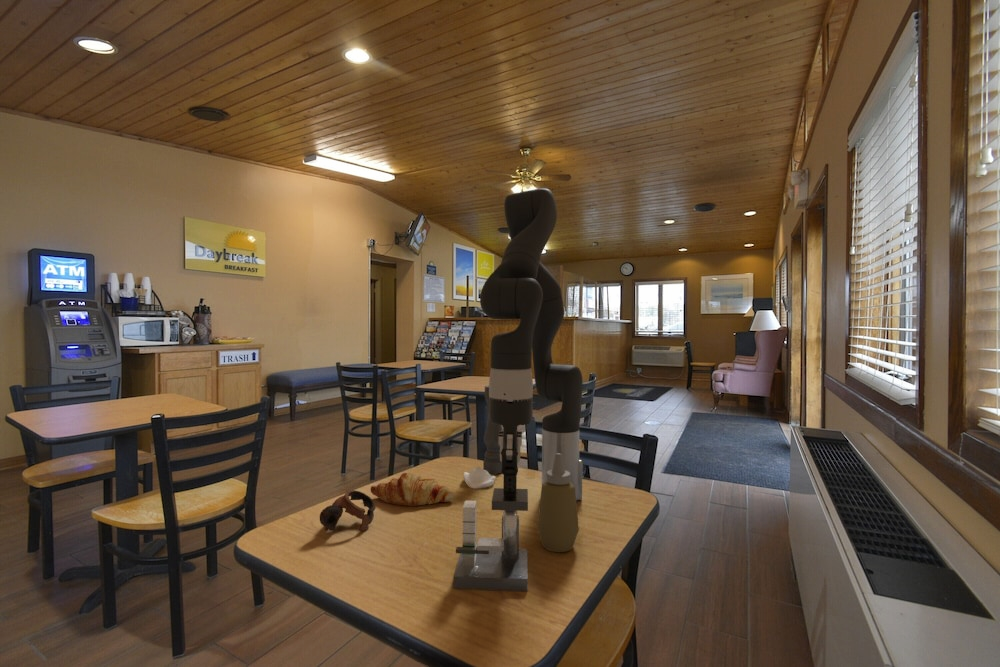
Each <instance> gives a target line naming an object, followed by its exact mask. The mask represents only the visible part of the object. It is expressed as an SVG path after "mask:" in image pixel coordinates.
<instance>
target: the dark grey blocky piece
mask: <svg viewBox="0 0 1000 667" xmlns="http://www.w3.org/2000/svg"><path fill="white" fill-rule="evenodd" d="M528 491H529V490H528V488H516V495H515V496H505V495H504V494H503V488H500V487H498V488H497V487H495V488H493V492H492V498H491V510H492V511H502V515H503V538H502V537H500V538H499V537H478V540H477V543H476V547H477V550H481V551H503V553H504V554H505V555H507V556H513V555H516V554H517V516H518V511H522V512H525V511H526V512H528V511H529V496H528V495H529V493H528Z"/></svg>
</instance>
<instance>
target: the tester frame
mask: <svg viewBox="0 0 1000 667" xmlns="http://www.w3.org/2000/svg"><path fill="white" fill-rule="evenodd" d="M501 538H503V514H502V515H501ZM461 547H477V500H465V501H464V503H463V506H462V545H461ZM457 560H458V561H457V564H456V567H455V571H454V575H453V589H456V590H458V589H459V590H477V591H478V590H479V591H481V590H485V591H508V592H509V591H515V592H528V590H529V589H528V582H529V581H528V578H529V577H528V576H529V575H528V549H527V548H520V516H519V515H517V554H516V555H513V556H507V555H505V554H504V553H503V551H489V554H464V553H459V557H458V559H457Z"/></svg>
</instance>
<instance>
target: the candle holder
mask: <svg viewBox="0 0 1000 667" xmlns="http://www.w3.org/2000/svg"><path fill="white" fill-rule="evenodd" d="M484 398H485V401H486V404H487V405H485V408H484V409H485V410H486V411H487V423H486V427H485V431H484V435H483V443H484V445H485V446H486V449H487V450H486V451H485V453H484V458H483V459H482V460H483V468H482V469H484V470H486V471H487V472H488V473H489V474H490V475H498V473H500V474H502V462H501V461H500V445H499V432H500V431H503V426H502V425H500V424H499V425H497V424H493V423H491V422H490V421H489V384H488V385H484Z"/></svg>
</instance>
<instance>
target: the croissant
mask: <svg viewBox="0 0 1000 667" xmlns="http://www.w3.org/2000/svg"><path fill="white" fill-rule="evenodd" d="M370 493H371V494H372V496H373V495H374V496H375V497H377V498H379V499H380V500H381V501H382V502H385V503H387V504H393V505H396V506H409V507H416V506H417V507H418V506H425V505H432V504H437V503H447V502H450V501H452V500H454V499H455V493H454V492H453V491H451V489H450V488H449V487H448V486H446V485H441V484H439V483H438V482H437V481H436V479H434V478H427V479H426V478H423V477H422V476H421V475H419V474H417V473H412V472H408V473H407V472H403V473H401V475H400V477H398V478H395V477H394V478H391V479H390V480H389V481H388V482H380V483H378V484H377V485H372V486H370Z"/></svg>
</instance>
